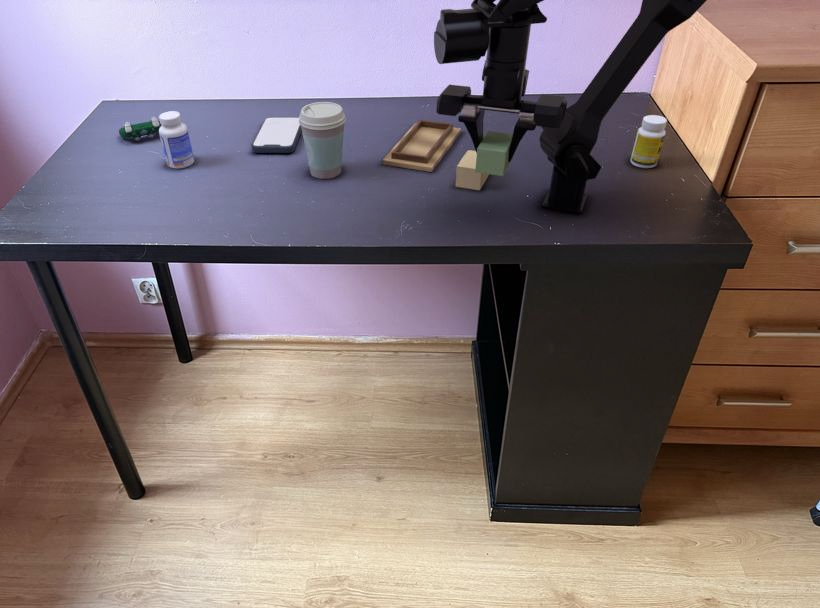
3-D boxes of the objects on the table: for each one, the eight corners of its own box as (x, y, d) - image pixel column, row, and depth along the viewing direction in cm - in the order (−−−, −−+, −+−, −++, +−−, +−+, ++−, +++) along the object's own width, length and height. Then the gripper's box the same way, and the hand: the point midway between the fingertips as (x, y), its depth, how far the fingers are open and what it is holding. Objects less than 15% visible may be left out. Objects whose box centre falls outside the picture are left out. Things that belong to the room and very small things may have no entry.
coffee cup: (313, 160, 129) (308, 98, 121) (354, 165, 127) (352, 103, 119) (296, 179, 123) (289, 116, 115) (339, 185, 121) (335, 121, 113)
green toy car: (123, 148, 141) (121, 136, 135) (118, 131, 141) (116, 119, 135) (166, 139, 144) (166, 128, 138) (161, 123, 144) (160, 111, 138)
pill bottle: (200, 159, 131) (190, 111, 125) (183, 171, 128) (172, 122, 121) (177, 155, 133) (167, 107, 127) (161, 166, 129) (149, 118, 123)
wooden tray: (432, 172, 124) (432, 161, 122) (382, 164, 127) (382, 153, 125) (460, 133, 137) (461, 122, 135) (415, 126, 140) (415, 116, 138)
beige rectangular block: (479, 190, 118) (481, 169, 115) (455, 186, 119) (456, 165, 116) (489, 173, 122) (491, 153, 120) (466, 170, 124) (467, 149, 121)
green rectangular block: (503, 176, 103) (506, 152, 100) (474, 172, 104) (477, 148, 102) (512, 157, 108) (515, 134, 105) (485, 154, 109) (487, 130, 106)
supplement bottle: (658, 169, 121) (671, 125, 116) (631, 168, 122) (642, 123, 116) (654, 158, 125) (667, 114, 119) (628, 157, 125) (639, 113, 120)
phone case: (265, 124, 144) (250, 154, 132) (264, 116, 143) (249, 146, 131) (305, 124, 144) (294, 154, 131) (305, 116, 143) (293, 146, 130)
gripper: (580, 45, 98) (562, 146, 108) (458, 35, 103) (452, 132, 114) (569, 69, 90) (550, 175, 100) (438, 57, 96) (433, 159, 106)
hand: (494, 158), depth 105 cm, fingers closed on green rectangular block, 4 cm apart
